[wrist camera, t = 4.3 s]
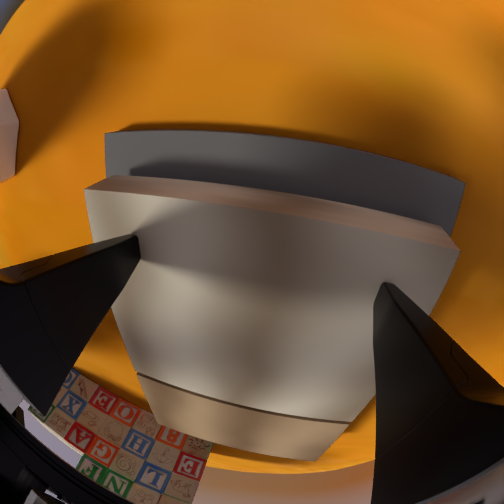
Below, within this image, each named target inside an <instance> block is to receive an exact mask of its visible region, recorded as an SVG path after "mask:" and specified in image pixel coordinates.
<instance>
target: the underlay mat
mask: <svg viewBox="0 0 504 504" xmlns="http://www.w3.org/2000/svg"><path fill="white" fill-rule="evenodd" d="M105 164H106V178H108V177H110V176H112V175H125V176H142V177H156V178H169V179H180V180H190V181H200V182H209V183H218V184H227V185H235V186H242V187H250V188H257V189H264V190H271V191H277V192H284V193H290V194H296V195H302V196H307V197H313V198H319V199H324V200H329V201H335V202H340V203H345V204H350V205H355V206H359V207H364V208H369V209H373V210H378V211H382V212H387V213H391V214H395V215H399V216H403V217H408V218H412V219H415V220H419V221H423V222H427V223H431V224H435V225H438V226H441V227H442V228H443V230H444V231H445V232H446V233H447V234H448V236H449V237H450V236H451V233H452V230H453V227H454V224H455V220H456V217H457V214H458V210H459V207H460V203H461V200H462V196H463V192H464V188H465V184H466V183H464V182H462V181H460V180H458V179H456V178H454V177H451V176H449V175H446V174H443V173H440V172H437V171H434V170H431V169H428V168H425V167H421V166H418V165H415V164H412V163H408V162H405V161H401V160H398V159H394V158H390V157H386V156H382V155H378V154H374V153H370V152H366V151H361V150H357V149H352V148H348V147H343V146H338V145H333V144H327V143H322V142H316V141H310V140H303V139H297V138H290V137H282V136H274V135H265V134H255V133H245V132H232V131H215V130H185V129H159V130H130V131H116V132H110V133H105Z"/></svg>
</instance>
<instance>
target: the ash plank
mask: <svg viewBox="0 0 504 504" xmlns="http://www.w3.org/2000/svg"><path fill="white" fill-rule="evenodd" d="M84 193H85V199H86V206H87V212H88V217H89V223H90V228H91V233H92V238H93V242H94V243H96V242H100V241H104V240H108V239H111V238H115V237H119V236H123V235H127V234H131V235H136V236H137V237H138V240H139V247H140V253H141V259H140V261H139V263H138V265H137V266H136V268H135V270H134V272H133V273H132V275H131V277H130V278H129V280H128V282H127V284H126V285H125V287H124V289H123V290H122V292H121V293H120V295H119V296H118V298H117V299H116V300H115V302H114V303H113V305H112V306H111V308H112V311H113V314H114V317H115V320H116V323H117V326H118V329H119V331H120V334H121V337H122V339H123V342H124V345H125V347H126V350H127V352H128V355H129V357H130V360H131V362H132V364H133V367H134V369H135V371H137V372H139V373H142V374H144V375H147V376H149V377H152V378H155V379H157V380H160V381H163V382H166V383H168V384H171V385H174V386H177V387H180V388H183V389H186V390H189V391H192V392H195V393H199V394H202V395H205V396H209V397H212V398H216V399H220V400H223V401H227V402H231V403H235V404H239V405H243V406H248V407H252V408H257V409H261V410H266V411H272V412H277V413H283V414H288V415H295V416H301V417H309V418H316V419H325V420H335V421H347V422H352V421H353V420H354V419H355V418H356V417H357V416H358V414H359V413H360V412H361V411H362V410H363V409H364V408H365V406H366V405H367V404H368V403H369V402H370V400H371V399H372V398H373V397H374V396H375V394H376V387H375V368H374V354H373V304H374V301H375V298H376V296H377V293H378V291H379V288H380V286H381V284H382V283H383V282H388V283H393V284H394V285H396V286H397V287H398V288H399V289H400V290H401V291H402V292H403V293H405V294H406V295H407V296H408V297H409V298H410V299H411V300H412V301H413V302H415V303H416V304H417V305H418V306H419V307H420V308H421V309H422V310H423V311H424V312H425V313H426V314H427V315H430V313H431V312H432V310H433V308H434V306H435V304H436V302H437V301H438V299H439V297H440V295H441V293H442V291H443V289H444V287H445V285H446V283H447V281H448V279H449V277H450V275H451V272H452V270H453V268H454V266H455V264H456V261H457V259H458V257H459V254H460V252H461V251H460V250H459V248H458V247H457V246H456V244H455V243H454V242H453V241H452V239H451V238H450V237H449V236H448V234H447V233H446V232H445V231H444V230H443V228H442V227H441V226H438V225H435V224H431V223H427V222H423V221H419V220H415V219H412V218H408V217H403V216H399V215H395V214H391V213H387V212H382V211H378V210H373V209H369V208H364V207H359V206H355V205H350V204H345V203H340V202H335V201H329V200H324V199H319V198H313V197H307V196H302V195H296V194H290V193H284V192H277V191H271V190H264V189H257V188H250V187H242V186H235V185H227V184H218V183H209V182H200V181H190V180H180V179H169V178H156V177H142V176H125V175H112V176H110V177H108V178H106V179H104V180H102V181H100V182H97V183H95V184H93V185H91V186H89V187H87V188H85V189H84Z"/></svg>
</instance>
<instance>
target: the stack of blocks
mask: <svg viewBox="0 0 504 504" xmlns="http://www.w3.org/2000/svg"><path fill="white" fill-rule="evenodd" d="M28 410H29V411H30V413H31V414H32V415H33V416H34V417H35V418H36V419H37V420H38V421H39V422H40V423H41V424H42V425H43V426H44V427H45V428H46V429H47V430H49V431H50V432H51V433H52V434H54V435H55V436H56V437H57V438H59V439H60V440H61V441H63V442H64V443H65V444H66V445H68V446H69V447H71V448H72V449H74V450H75V451H76V452H78V453H79V454H81V455H82V458H81V459H80V461H79V463H78V465H77V467H76V468H75V469H77V470H78V471H80V472H81V473H83V474H84V475H86V476H87V477H89V478H90V479H92V480H94V481H95V482H97V483H98V484H100V485H102V486H103V487H105V488H107V489H109V490H110V491H112V492H114V493H116V494H118V495H120V496H122V497H123V498H125V499H127V500H129V501H131V502H133V503H136V504H192V501H193V498H194V496H195V493H196V491H197V488H198V485H199V482H200V479H201V477H202V474H203V471H204V468H205V465H206V462H207V459H208V457H209V454H210V451H211V449H212V446H213V443H214V442H210V441H207V440H203V439H200V438H197V437H194V436H191V435H188V434H185V433H182V432H179V431H176V430H174V429H171V428H168V427H166V426H163V425H161V424H158V423H157V421H156V419H155V417H154V414H152V413H150V412H148V411H146V410H143V409H141V408H139V407H137V406H135V405H133V404H131V403H129V402H127V401H125V400H123V399H122V398H119V397H118V396H116V395H114V394H113V393H111V392H109V391H107V390H106V389H104V388H102V387H100V386H99V385H97V384H96V383H94V382H93V381H91V380H89V379H88V378H86V377H85V376H83V375H82V374H80V373H79V372H77V371H76V370H74V369H73V368H72V369H71V371H70V372H69V374H68V376H67V378H66V380H65V381H64V383H63V385H62V387H61V389H60V390H59V392H58V394H57V396H56V398H55V400H54V402H53V404H52V405H51V407H50V409H49V411H48V413H47V415H46V416H45V417H44V416H43V415H41V414H40V413H39V412H38V411H37V410H36V409H34V408H33V407H32V406H31V405H30V407H29V408H28Z"/></svg>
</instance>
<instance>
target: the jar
mask: <svg viewBox="0 0 504 504" xmlns="http://www.w3.org/2000/svg"><path fill="white" fill-rule="evenodd" d="M18 130H19V119H18V117H17V115H16V112H15V110H14V107H13V105H12V102H11V99H10V97H9V94H8V91H7V89H0V184H1V183H3V182H4V181H6V180H8V179H10V178H12V177H13V176H14V175H15V167H16V150H17V139H18Z"/></svg>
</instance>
